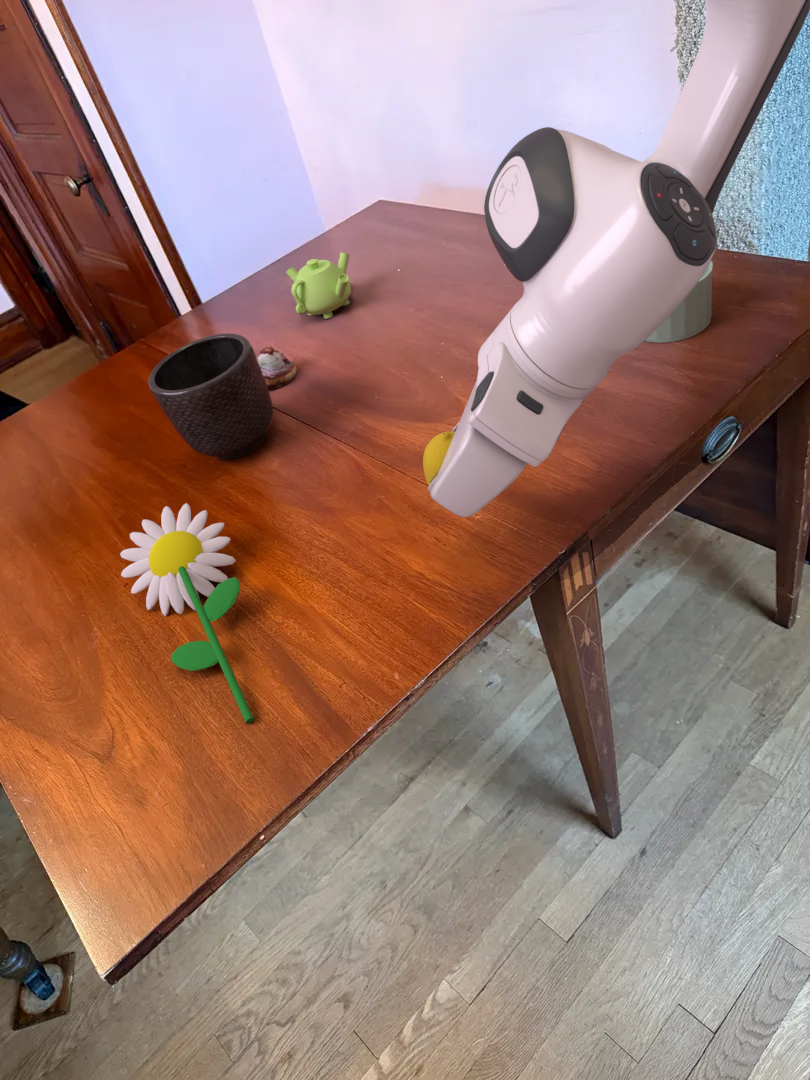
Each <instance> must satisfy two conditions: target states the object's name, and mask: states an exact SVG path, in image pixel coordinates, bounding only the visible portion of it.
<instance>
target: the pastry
mask: <svg viewBox="0 0 810 1080" xmlns="http://www.w3.org/2000/svg"><path fill="white" fill-rule="evenodd" d="M259 353H260V355H258V356H257V357H256V358H257V360H258V363H259V365H260V368H261V370H262V373H263V376H264V378H265V381H266V384H267V387H268V390H269V391H272V390H276V389H278V388H281V387H282V386H285V385H286V384H288V383H290V382H291V381H292V380H293V379H294V378H295V377H296V376H297V366H296V365H295V364H294V363H293V362H291V360H289V359H288V357H286V355H285V354H284V353H283V352H282V353H281V352H280V351H279V349H275V347H273V346H271V345H270V346H265V347H263V348H262V349H260V351H259Z"/></svg>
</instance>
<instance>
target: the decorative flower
mask: <svg viewBox="0 0 810 1080" xmlns="http://www.w3.org/2000/svg"><path fill="white" fill-rule="evenodd" d="M177 515H178V516H177V518H175V514H174V512H173V511H172V509H171V507H169V506H168V505H165V506H164V507H163V509H162V512H161V515H160V517H161V518H160V519H161V520H160V521H161V523H160V524H161V526H160V525H159V524H157V523H156V522H155V521H152V520H150V519H142V521H141V526H142V529H143V530H144V532H145V533H143V532H140V531H132V532H130V533H129V539H130V540H131V541H132V542H133V543H134V544H135V545H136V546H138V547H130V548H126V549H122V551H121V552H120V553H119V555H120V557H121V559H124V560H126V561H129V562H133V563H131V564H128V566H125V568H123V569H122V571H121V573H120V576H121V577H122V578H135V577H138V576H139V578H138V579H136V581H135V583H133V585H132V587H131V591H130V593H131V594H134V595H135V594H138V593H140V592H142V591H144V590H145V589H146V588H148V589H147V592H146V598H145V607H146V609H147V611H151V610H153V608H154V607H155V605H156V604H157V603H158V601H159V607H160V610H161V613H162V615H163V616H164V617H167V615H168V614H169V610H170V606H172V608H173V610H174V612H175V613H176V614H179V615H182V613H184V610H185V609H184V608H185V602H186V604H187V605H188V607H190V608H191V609H192V610H193V611H195V612H196V614H197V616H198V618H199V620H200V623H201V625H202V627H203V629H204V632H205V633H206V636H207V639H208V641H207V640H194V641H188V642H186V643H184V644H181V645H180V646H177V648H176V649H175V650H174V651H173V653H172V654H171V662H172V664H174V665H175V666H177V667H178V668H179V669H181V670H186V671H191V672H193V671H203V670H206V669H208V668H211V667H213V666H215V665H217V664H218V663H219V665H220V668H221V670H222V672H223V674H224V677H225V679H226V682H227V683H228V686H229V688H230V690H231V693H232V695H233V698H234V700H235V702H236V704H237V706H238V709H239V711H240V713H241V715H242V717H243V720H244V722H245V724H247V725H249V724H252V723H253V722H254V721H255V718H254V716H253V713H252V711H251V709H250V707H249V704H248V702H247V700H246V698H245V696H244V694H243V691H242V689H241V687H240V684H239V683H238V681H237V678H236V676H235V674H234V671H233V669H232V667H231V665H230V663H229V661H228V658H227V656H226V653H225V652H224V650H223V648H222V645H221V643H220V641H219V638H218V636H217V635H216V632H215V629H214V628H213V626H212V623H211V622H215V621H218V620H219V619H221V618H222V617H224V616H225V615H226V614H227V613H228V612H229V610H230V609H231V608H232V607H233V606H234V604H236V600H237V598H238V597H239V594H240V589H241V588H240V587H241V581H240V580H239V578H237V576H233V577H229V578H228V576H227V575H226V574H225V573H224V572H222V571H221V570H220V569H218V568H217V567H227V566H230V565H233V564H234V563H236V561H237V560H236V559H235V558H234V556H231V555H228V554H226V553H220V552H218V551H220V550H223V549H224V548H225V547H226V546H227V545H228V544H230V542H231V537H228V536H219V534H220V533H221V532H222V531H223V529H224V528H225V522H216V523H212V524H210V525H209V526H206V527H205V525H206V524H207V520H208V516H209V513H208V511H207V510H206V509H204V510H202V511H199V512H198V514H196V515H195V516H194V517H193V519H192V511H191V506H190V505H189V503H187V502H186V503H184V504H182V506H181V507H180V509H179V511H178V514H177ZM210 581H212V582H215V583H218V584H217V585H216V586H214V585H213V584H212V582H210ZM199 593H200V594H201V595H204V596H205V597H207V599H206V600H205V603H204V605H203V603H202V600H201V599H200V595H199Z"/></svg>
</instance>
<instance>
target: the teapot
mask: <svg viewBox="0 0 810 1080" xmlns="http://www.w3.org/2000/svg"><path fill="white" fill-rule="evenodd" d="M349 260H350V254H349V253H346V252H340V253H339V257H338V263H337V265H336V264H334V263H333V262H332V261H330V260H327V259H317V258H311V259H309V260H307V262H306V264H305V265H303V266H302V267H301V268H300V269H299V270H298V271H297V270H296V268H295V267H294V266H291V267H289V268H288V269H287V270H286V271H285V274H286V275H287V276H288V277H289V278H290V280H292V281H293V284H292V285H291V288H290V291H291V294H292V297H293V298H294V300H295V303H296V305H295V311H296V313H297V314H299V315H302V314H305V313H307V316H314V315H322V317H323V319H327V320H328V319H330V318H332V317H333V316H334V313H333V311H335V310H337V309H339V308H341V307H345V306H348V305H349V304H350V301H349V298H350V295H351V293H352V285H351V282H350V279H349V275H348V274H346V273H347V271H348V270H347V269H348V264H349Z"/></svg>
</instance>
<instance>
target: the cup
mask: <svg viewBox="0 0 810 1080" xmlns="http://www.w3.org/2000/svg"><path fill="white" fill-rule="evenodd" d="M713 279H714V263H713V261H712V260H711V261H710V263H709V265H708V267H707V269H706V270H705V272H704V274H703V275H702V277H701V278H700V280H699V281H698V283H697V284H696V286H695V287H694V288H693V289H692V291H691V292H690V293H689V294H688V295H687V297H686V298H685V299H684V300H683V301H682V303H681V304H680V305H679V306H678V307H677V308H676V309H675V310H674V311H673V312H672V314H671V315H670V316H669V317H668V318H667V319H666V320H665V321H664V322H663V323H662V324H661V325H660V326H659V327H658V328H657V329H656V330H655V331H654V332H653V333H652V334H651V335H650V336H649V337H648V338H647V339H646V340H645V341H644V342H647V343H653V344H657V343H658V344H663V343H674V342H678V341H683V340H686V339H689V338H691V337H695V336H696V335H699V334H700V333H702V332H703V331H704V330H705V329H707V328H708V326H709V325H710V324H711V322H712V318H713V289H714V287H713V283H714V282H713V281H714V280H713Z"/></svg>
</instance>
